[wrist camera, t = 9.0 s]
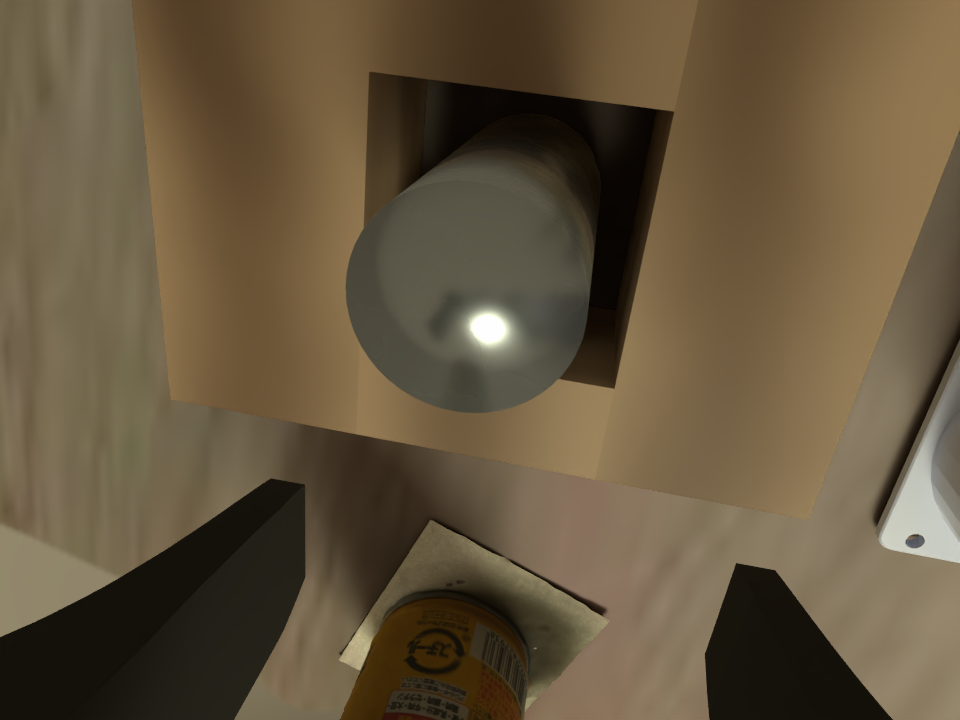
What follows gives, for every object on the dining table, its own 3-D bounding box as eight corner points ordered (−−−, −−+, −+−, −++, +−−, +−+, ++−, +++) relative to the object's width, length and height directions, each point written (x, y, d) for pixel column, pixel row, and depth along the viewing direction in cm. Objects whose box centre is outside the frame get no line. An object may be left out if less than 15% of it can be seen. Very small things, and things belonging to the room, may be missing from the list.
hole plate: (904, 2, 16) (1012, -7, 12) (768, 415, 21) (808, 520, 17) (244, -71, 18) (121, -102, 14) (257, 326, 23) (170, 398, 18)
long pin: (611, 121, 19) (606, 196, 10) (589, 268, 20) (569, 429, 12) (460, 105, 19) (344, 166, 11) (451, 250, 21) (345, 394, 13)
